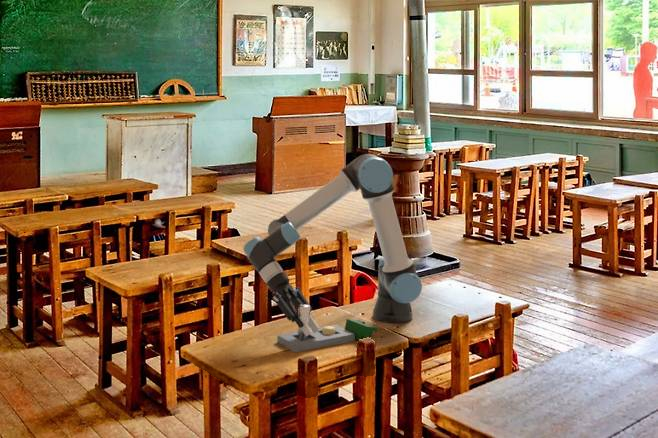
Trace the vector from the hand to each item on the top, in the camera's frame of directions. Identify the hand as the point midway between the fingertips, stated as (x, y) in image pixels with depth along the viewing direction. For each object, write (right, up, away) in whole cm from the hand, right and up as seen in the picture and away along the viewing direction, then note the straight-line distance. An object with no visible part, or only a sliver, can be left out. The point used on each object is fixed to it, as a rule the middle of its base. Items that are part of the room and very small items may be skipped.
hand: (313, 332), depth 278 cm
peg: (-3, -3, +3) cm, 5 cm away
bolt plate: (+1, -4, +6) cm, 7 cm away
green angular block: (+17, -4, +11) cm, 20 cm away
